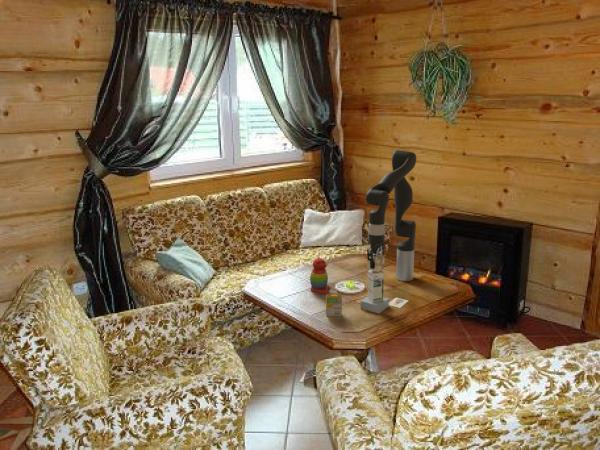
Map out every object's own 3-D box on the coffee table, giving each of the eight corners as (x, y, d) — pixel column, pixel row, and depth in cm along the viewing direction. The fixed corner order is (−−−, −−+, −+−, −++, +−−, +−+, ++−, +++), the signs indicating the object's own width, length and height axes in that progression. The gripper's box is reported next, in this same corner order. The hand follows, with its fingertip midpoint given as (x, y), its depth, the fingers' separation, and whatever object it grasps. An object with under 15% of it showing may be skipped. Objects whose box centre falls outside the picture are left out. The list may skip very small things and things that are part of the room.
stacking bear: (327, 295, 260) (327, 262, 255) (308, 293, 262) (308, 261, 257) (330, 287, 270) (330, 255, 265) (312, 285, 272) (311, 254, 267)
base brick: (370, 301, 251) (370, 294, 250) (388, 306, 245) (388, 298, 244) (360, 308, 243) (360, 301, 242) (379, 313, 238) (379, 305, 236)
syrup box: (372, 302, 240) (373, 274, 236) (367, 297, 246) (367, 269, 242) (383, 300, 242) (384, 272, 238) (378, 296, 247) (378, 268, 243)
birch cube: (372, 265, 243) (373, 253, 241) (384, 268, 240) (384, 256, 238) (367, 269, 238) (367, 257, 237) (378, 271, 235) (378, 259, 233)
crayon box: (341, 313, 239) (341, 290, 236) (342, 316, 236) (342, 293, 233) (326, 313, 238) (325, 291, 235) (326, 316, 236) (326, 293, 232)
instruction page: (395, 297, 255) (395, 297, 255) (408, 300, 251) (408, 300, 251) (386, 304, 247) (386, 304, 247) (400, 308, 243) (400, 307, 243)
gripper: (376, 237, 226) (375, 272, 231) (390, 230, 238) (389, 263, 242) (361, 235, 231) (361, 269, 235) (376, 227, 242) (375, 260, 246)
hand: (375, 266), depth 239 cm, fingers closed on birch cube, 6 cm apart
